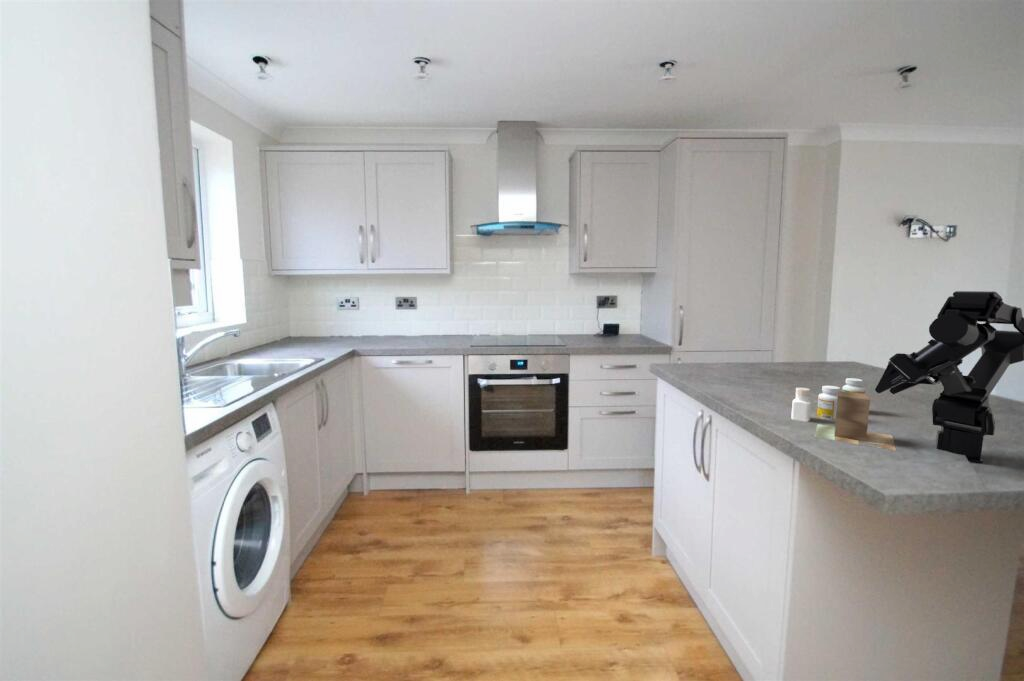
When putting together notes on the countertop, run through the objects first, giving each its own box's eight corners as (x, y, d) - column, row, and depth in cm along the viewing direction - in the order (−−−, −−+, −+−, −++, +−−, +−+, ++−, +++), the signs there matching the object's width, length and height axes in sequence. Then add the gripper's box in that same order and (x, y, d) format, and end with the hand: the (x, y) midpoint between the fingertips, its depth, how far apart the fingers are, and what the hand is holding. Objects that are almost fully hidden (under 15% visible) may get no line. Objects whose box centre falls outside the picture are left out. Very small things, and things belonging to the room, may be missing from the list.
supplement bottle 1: (832, 418, 125) (835, 384, 124) (844, 424, 120) (848, 389, 119) (812, 418, 126) (815, 384, 125) (823, 424, 120) (826, 389, 119)
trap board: (892, 440, 108) (892, 435, 108) (895, 455, 98) (895, 450, 98) (817, 428, 117) (817, 424, 117) (813, 441, 108) (814, 436, 107)
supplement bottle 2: (866, 412, 131) (870, 380, 130) (857, 414, 129) (860, 382, 128) (846, 407, 136) (849, 376, 135) (836, 410, 133) (839, 378, 132)
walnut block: (865, 434, 109) (869, 394, 107) (865, 441, 104) (870, 399, 103) (835, 429, 112) (838, 391, 111) (834, 436, 107) (837, 395, 106)
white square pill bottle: (793, 419, 125) (795, 386, 123) (810, 422, 122) (812, 388, 121) (790, 423, 122) (792, 389, 120) (807, 426, 119) (810, 391, 118)
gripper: (978, 373, 84) (900, 421, 93) (999, 377, 95) (927, 420, 104) (925, 332, 91) (857, 380, 100) (951, 339, 102) (887, 383, 110)
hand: (884, 392), depth 103 cm, fingers open, 9 cm apart
